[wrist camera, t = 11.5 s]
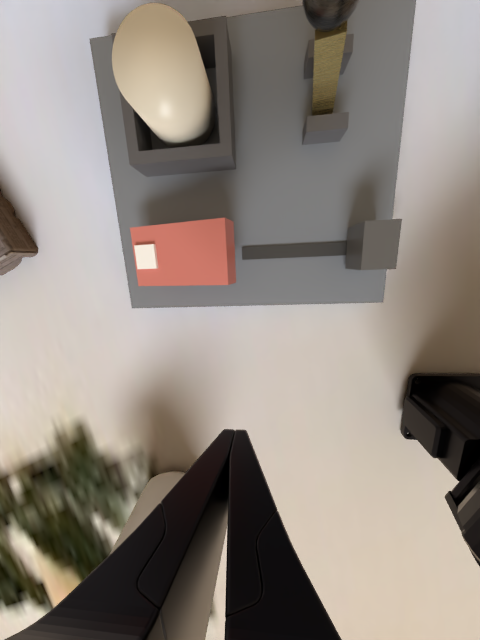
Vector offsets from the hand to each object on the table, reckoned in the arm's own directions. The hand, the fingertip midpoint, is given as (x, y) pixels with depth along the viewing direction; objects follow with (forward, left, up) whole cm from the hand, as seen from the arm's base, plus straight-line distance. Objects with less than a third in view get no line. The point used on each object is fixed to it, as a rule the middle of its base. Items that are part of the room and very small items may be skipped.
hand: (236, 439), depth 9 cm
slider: (-8, -7, -11) cm, 15 cm away
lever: (-5, -16, -11) cm, 20 cm away
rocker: (+4, -7, -10) cm, 13 cm away
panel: (0, -12, -13) cm, 18 cm away
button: (+4, -16, -10) cm, 19 cm away
